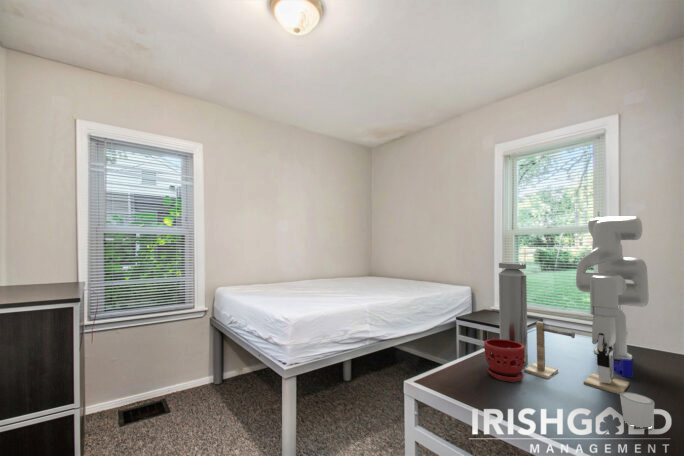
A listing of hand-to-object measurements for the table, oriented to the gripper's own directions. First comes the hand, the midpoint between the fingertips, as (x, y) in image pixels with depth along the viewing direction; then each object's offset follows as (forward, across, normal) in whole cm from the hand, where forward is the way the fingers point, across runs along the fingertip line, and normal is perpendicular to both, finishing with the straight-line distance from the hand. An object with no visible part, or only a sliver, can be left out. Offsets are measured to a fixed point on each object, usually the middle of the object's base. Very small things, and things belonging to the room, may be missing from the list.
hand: (605, 363), depth 108 cm
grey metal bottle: (+7, +3, -29) cm, 30 cm away
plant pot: (+7, +21, -25) cm, 34 cm away
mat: (+7, 0, 0) cm, 7 cm away
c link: (+6, 0, 0) cm, 6 cm away
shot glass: (+7, +24, +11) cm, 27 cm away
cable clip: (+7, -18, -1) cm, 20 cm away
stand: (+7, +6, -15) cm, 17 cm away
